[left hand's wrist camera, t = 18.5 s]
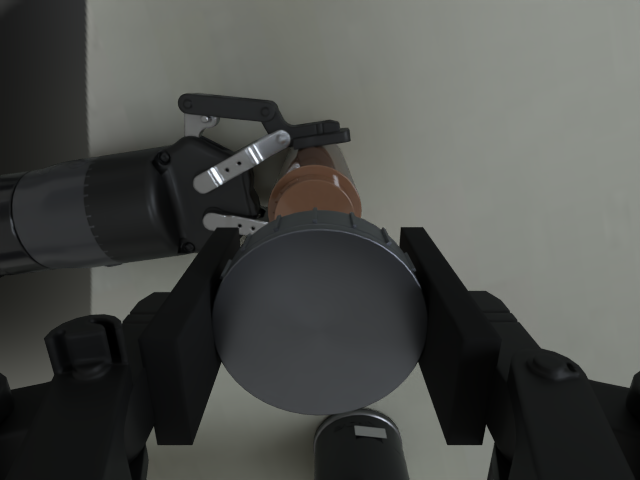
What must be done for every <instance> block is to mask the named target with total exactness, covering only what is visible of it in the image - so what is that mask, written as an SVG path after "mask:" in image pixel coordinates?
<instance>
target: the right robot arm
mask: <svg viewBox="0 0 640 480" xmlns="http://www.w3.org/2000/svg"><path fill="white" fill-rule="evenodd" d="M178 106H179V108H180V110H181V111H182V112H183V113H184V120H185V137H183V138H181V139H179V140H178V141H177V142H176V143H175V144H173V145H170V146H165V147H159V148H152V149H145V150H139V151H132V152H126V153H119V154H112V155H106V156H100V157H93V158H86V159H79V160H73V161H68V162H63V163H59V164H55V165H52V166H49V167H46V168H42V169H38V170H33V171H26V172H20V173H13V174H6V175H0V277H2V276H4V275H15V274H24V273H31V272H38V271H46V270H53V269H60V268H91V267H99V266H107V267H111V266H117V265H121V264H123V263H128V262H135V261H143V260H150V259H157V258H164V257H171V256H178V255H184V254H189V253H199V252H200V250H201V249H202V247H203V246H204V245H205V243H206V242H207V240H208V239H209V238H210V236H211V235H212V233H213V232H214V231H215V229H216V228H217V227H239V236H240V238H241V237H242V236H243V235H246V236H247V235H248V234H249V233H251V234H254V233H255V232H256V231H257V230H259V229H260V228H261V227H263V226H265V225H266V224H268V223H270V222H269V218H268V207H264V206H260V201H259V197H258V195H257V193H256V191H255V189H254V171H253V167H254V166H256V165H257V164H259V163H260V162H262V161H263V160H265V159H267V158H269V157H270V156H272V155H274V154H276V153H278V152H279V151H281V150H283V149H285V148H287V147H294V150H298V149H304V148H310V147H318V146H324V145H331V144H338V143H344V142H349V141H351V140H350V131H349V129H348V128H340V126H339V122H338V121H334V120H325V121H318V122H312V123H305V124H299V125H291V124H288V123H287V122H286V121H285V120H284V118H283V117H282V115H281V113H280V111H279V109H278V106H277V104H276V103H275V102H273V101H270V100H260V99H250V98H241V97H231V96H221V95H212V94H202V93H190V94H183V95H182V96H180V98H179V100H178ZM220 117H221V118H230V119H240V120H250V121H260V122H262V124H263V126H264V127H265V129H266V131H267V133H268V134H267V135H265V136H263V137H261V138H260V139H258V140H256V141H254V142H252V143H250V144H248V145H247V146H245V147H243V148H241V149H240V150H238V151H236V152H233V151H231V150H229V149H227V148H225V147H224V146H222V145H220V144H218V143H216V142H214V141H212V140H210V139H208V138H206V137H204V136H202V134H203V131H204V130H205V129H206V128H211V127H214V126H216V125H217V124H218V123H219V121H220ZM259 214H260V215H259ZM254 227H255V228H254ZM314 455H315V472H314V480H410V479H409V475H408V470H407V466H406V461H405V457H404V453H403V449H402V440H401V436H400V433H399V430H398V428H397V426H396V425H395V424H394V423H393V422H392V420H390V419H389V418H388V417H386V416H385V415H383V414H381V413H379V412H376V411H372V410H367V409H357V410H354V411H350V412H346V413H341V414H335V415H333V416H331V417H329V418H328V419H327V420H325V421H324V422H323V423H322V424H321V425H320V427H319V428H318V430H317V432H316V434H315V437H314Z"/></svg>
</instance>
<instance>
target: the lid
mask: <svg viewBox="0 0 640 480" xmlns="http://www.w3.org/2000/svg"><path fill="white" fill-rule="evenodd" d="M415 271H416V269H415V267H414V265H413V263H412V261H411V259H410V257H409V255H408V254H407V252H406V253H403V251H402V250H401V249H400V247H399V246H398V245H397V244H396V242H395V241H394V240H393V239H392V238H391V237H390V236H389V235H388V233H387V231H386V229H385V228H382V229H380V228H378V227H377V226H375V225H374V224H372V223H370V222H368V221H366V220H364V219H362V218H359V217H356V216H355V214H354V213H353V212H350V214H347V213H342V212H338V211H329V210H317V207H314V208H313V210H310V211H303V212H297V213H293V214H290V215H286V216H283V217H282V216H281V215H278V216H277V218H276V220H274V221H272V222H270V223H268V224H266V225H265V226H263V227H261V228H260V229H259V230H257V231H256V232H255V233H254V234H251V233H249V234H248V235H247V237H246V239H245V241H244V243H243V244H242V246H241V247H240V248H239V250H238V251H237V253H236V254H235V256H234V258H233V260H230V259H229V261H228V263H227V264H226V266H225V268H224V270H223V272H222V274H221V276H220V279H221V280H222V282H221V284H220V286H219V288H218V290H217V293H216V296H215V299H214V302H213V308H212V313H211V318H212V329H213V338H214V344H215V347H216V351H217V353H218V355H219V357H220V359H221V362H222V363H223V365H224V366H225V368H226V369H227V371H228V372H229V374H230V375H231V376H232V377H233V378H234V380H235V381H236V382H237V383H238V384H239V385H241V386H242V387H243V388H244V389H245V390H246V391H248V392H249V393H250V394H252V395H253V396H255V397H256V398H258V399H260V400H262V401H263V402H265V403H267V404H270V405H272V406H274V407H277V408H279V409H283V410H286V411H289V412H294V413H299V414H307V415H333V414H341V413H346V412H350V411H354V410H357V409H360V408H363V407H366V406H368V405H370V404H372V403H374V402H377V401H378V400H380V399H382V398H383V397H385V396H387V395H388V394H390V393H391V392H392V391H393V390H395V389H396V388H397V387H398V386H399V385H400V384H401V383H402V382H403V381H404V380H405V379H406V378H407V377H408V376H409V374H410V373H411V372H412V371H413V369H414V368H415V366H416V364H417V363H418V361H419V359H420V357H421V354H422V352H423V349H424V347H425V343H426V336H427V326H428V308H427V304H426V299H425V296H424V294H423V291H422V288H421V286H420V284H419V282H418V280H417V278H416V276H415V274H414V272H415Z"/></svg>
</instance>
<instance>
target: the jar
mask: <svg viewBox="0 0 640 480" xmlns="http://www.w3.org/2000/svg"><path fill="white" fill-rule="evenodd" d="M314 207H317V210H329V211H338V212H342V213H347V214H350V212H353V213H354V214H355V216H356V217H359V218H361V201H360V197H359V194H358V192H357V189H356V187H355V184H354V181H353V179H352V176H351V174H350V171H349V169H348V166H347V164H346V161H345V159H344V156H343V154H342V151H341V149H340V148H339V146H338V145H337V144H331V145H324V146H318V147H310V148H304V149H298V150H294V147H291V148H290V150H289V152H288V154H287V157H286V159H285V161H284V164H283V166H282V168H281V171H280V173H279V176H278V178H277V180H276V183H275V185H274V187H273V190H272V192H271V195H270V198H269V201H268V218H269V222H272V221H274V220H276V218H277V216H278V215H281V216H282V217H283V216H286V215H290V214H293V213H297V212H303V211H310V210H313V208H314Z"/></svg>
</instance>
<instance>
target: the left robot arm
mask: <svg viewBox="0 0 640 480" xmlns="http://www.w3.org/2000/svg"><path fill="white" fill-rule="evenodd" d="M399 247H400V249H401V250H402V251H403V253H406V252H407V254H408V255H409V257H410V259H411V261H412V263H413V265H414V267H415V269H416V271H415V272H414V274H415V276H416V278H417V280H418V282H419V284H420V286H421V288H422V291H423V294H424V296H425V299H426V304H427V308H428V326H427V336H426V343H425V347H424V349H423V352H422V354H421V357H420V359H419V361H418V363H419V365H420V368H421V371H422V374H423V377H424V380H425V383H426V385H427V388H428V391H429V394H430V397H431V400H432V403H433V405H434V408H435V411H436V414H437V417H438V420H439V423H440V425H441V428H442V431H443V434H444V437H445V440H446V442H447V445H482V443H483V438H484V433H485V427H486V425H487V427H488V429H489V431H490V433H491V435H492V437H493V439H494V441H495V443H494V448H493V453H492V458H491V463H490V468H489V473H488V477H487V480H493V479H494V480H640V371H639V372H638V373H637V374H635V375H634V377H633V380H632V383H631V386H630V388H627V387H622V386H617V385H612V384H607V383H602V382H597V381H593V380H589V379H588V378H587V376H586V374H585V373H584V371H583V370H582V369H581V368H580V366H579V365H577V364H576V363H575V362H573V361H572V360H570V359H569V358H567V357H565V356H563V355H560V354H558V353H556V352H553V351H549V350H545V349H541V348H540V347H539V345H538V344H537V343H536V342H535V341H534V339H533V338H532V337H531V336H530V335H529V333H528V332H527V331H526V330H525V329H524V327H523V326H522V325H521V324H520V323H519V322H517V319H516V318H515V317H514V315H513V314H512V313H510V311H509V309H508V308H507V307H506V306H505V304H504V303H503V302H502V301H501V300H500V299H498V298H497V297H495V296H493V295H492V294H490V293H488V292H487V291H468V290H467V289H466V287H465V286H464V285H463V283H462V282H461V280H460V279H459V278H458V276H457V275H456V273H455V272H454V270H453V269H452V268H451V266H450V265H449V263H448V262H447V261H446V259H445V258H444V256H443V255H442V253H441V252H440V251H439V249H438V248H437V246H436V245H435V244H434V242H433V241H432V239H431V238H430V237H429V235H428V234H427V232H426V231H425V229H424V228H423V227H401V233H400V246H399ZM239 248H240V236H239V227H217V228H216V229H215V231H214V232H213V233H212V235H211V236H210V238H209V239H208V240H207V242H206V243H205V245H204V246H203V247H202V249H201V250H200V252H199V253H198V255H197V256H196V257H195V259H194V260H193V262H192V263H191V264H190V266H189V267H188V269H187V270H186V271H185V273H184V274H183V276H182V277H181V279H180V280H179V281H178V283H177V284H176V286H175V287H174V288H173V290H172V291H171V292H154V293H152V294H150V295H149V296H147V297H146V298H144V299H142V300H141V301H139V302H138V303H137V305H136V306H135V307H134V308H133V309H132V311H131V312H130V315H128V316H127V317H126V318H125V319H124V320H123V324H121V321H120V320H119V319H118V318H116V317H115V316H110V315H105V314H101V315H89V316H84V317H80V318H76V319H73V320H71V321H68V322H65V323H63V324H61V325H60V326H58V327H56V328H55V329H53V330H51V331H50V332H49V334H48V335H47V336H46V337H45V338H44V340H45V344H46V347H47V351H48V354H49V358H50V361H51V365H52V368H53V372H54V377H53V379H52V381H50V382H46V383H42V384H37V385H32V386H27V387H23V388H18V389H13V390H10V387H9V384H8V381H7V378H6V377H5V376H4V375H2V374H1V373H0V480H146V478H147V470H148V461H149V460H148V453H147V448H146V441H147V439H148V437H149V435H150V433H151V430H152V428H153V426H154V429H155V434H156V439H157V445H193V442H194V439H195V436H196V433H197V430H198V428H199V425H200V422H201V419H202V416H203V413H204V410H205V408H206V405H207V402H208V399H209V396H210V393H211V390H212V388H213V385H214V382H215V379H216V376H217V373H218V370H219V368H220V365H221V359H220V357H219V355H218V353H217V351H216V347H215V344H214V338H213V329H212V318H211V313H212V308H213V302H214V299H215V296H216V293H217V290H218V288H219V286H220V284H221V282H222V280H221V279H220V276H221V274H222V272H223V270H224V268H225V266H226V264H227V263H228V261H229V259H230V260H233V258H234V256H235V254H236V253H237V251H238V250H239Z"/></svg>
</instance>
